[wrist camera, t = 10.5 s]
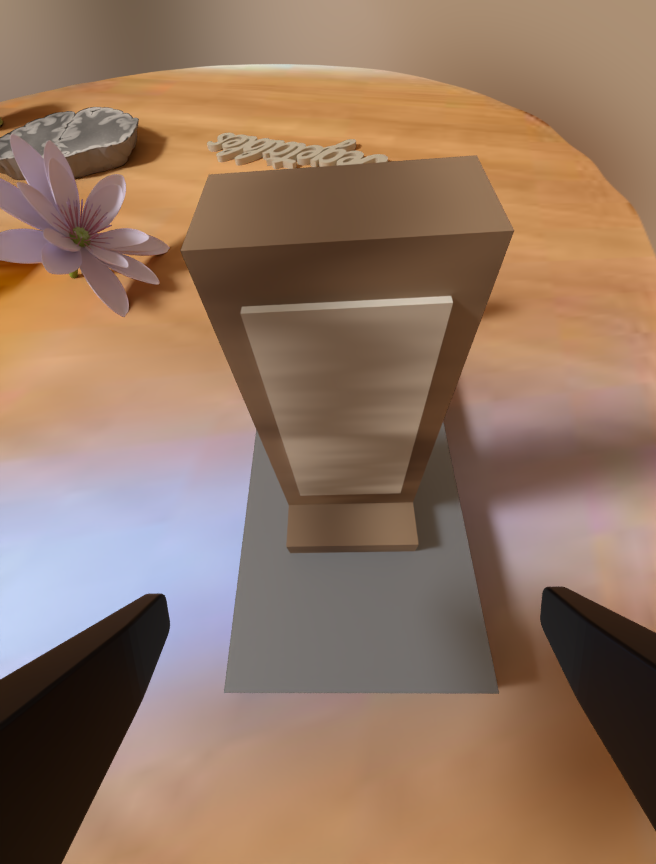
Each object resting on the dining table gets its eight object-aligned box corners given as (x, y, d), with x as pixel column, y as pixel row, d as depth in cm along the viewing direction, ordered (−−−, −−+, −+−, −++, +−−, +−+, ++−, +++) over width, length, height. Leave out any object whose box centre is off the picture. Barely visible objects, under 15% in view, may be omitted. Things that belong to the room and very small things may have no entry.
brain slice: (154, 125, 55) (145, 99, 53) (141, 175, 46) (129, 147, 44) (25, 143, 55) (9, 118, 52) (-14, 197, 46) (-36, 170, 43)
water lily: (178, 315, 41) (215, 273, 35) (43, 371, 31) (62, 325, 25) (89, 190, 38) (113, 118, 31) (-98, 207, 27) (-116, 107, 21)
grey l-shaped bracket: (483, 689, 16) (560, 708, 10) (237, 689, 16) (171, 705, 11) (413, 318, 29) (429, 230, 23) (276, 325, 29) (256, 240, 23)
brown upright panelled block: (399, 428, 21) (459, 120, 9) (414, 551, 17) (551, 305, 5) (296, 431, 21) (222, 138, 9) (290, 553, 18) (152, 325, 6)
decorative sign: (413, 147, 44) (381, 185, 39) (412, 156, 44) (381, 195, 40) (234, 123, 51) (190, 153, 47) (236, 132, 52) (193, 162, 47)
